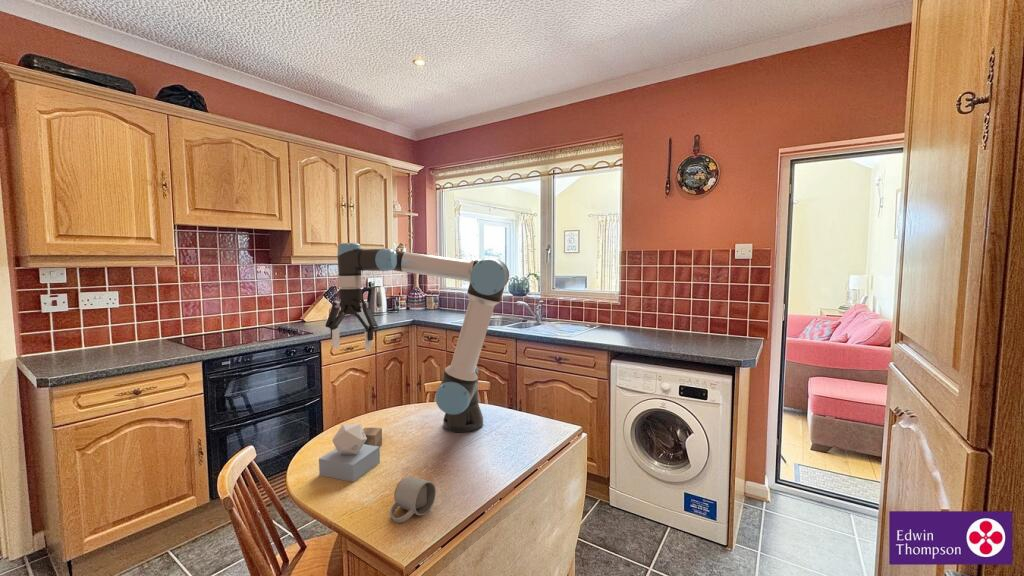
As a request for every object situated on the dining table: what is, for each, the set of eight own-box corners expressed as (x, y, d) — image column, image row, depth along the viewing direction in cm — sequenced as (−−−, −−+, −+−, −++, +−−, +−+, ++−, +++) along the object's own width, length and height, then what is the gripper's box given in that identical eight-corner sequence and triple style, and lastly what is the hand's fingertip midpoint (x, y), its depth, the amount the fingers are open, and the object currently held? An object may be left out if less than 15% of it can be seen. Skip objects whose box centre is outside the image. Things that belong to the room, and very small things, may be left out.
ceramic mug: (413, 496, 109) (412, 468, 108) (437, 505, 105) (436, 476, 104) (382, 518, 100) (380, 488, 99) (406, 529, 96) (405, 498, 95)
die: (345, 464, 117) (367, 433, 120) (321, 447, 118) (342, 416, 121) (356, 461, 125) (376, 431, 128) (333, 445, 127) (353, 416, 129)
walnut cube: (382, 445, 140) (381, 427, 139) (375, 453, 134) (374, 435, 133) (364, 444, 140) (364, 427, 140) (357, 452, 134) (356, 434, 134)
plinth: (379, 462, 127) (379, 446, 127) (353, 482, 116) (353, 464, 116) (347, 456, 131) (347, 441, 131) (319, 475, 120) (318, 458, 120)
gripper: (387, 287, 142) (389, 348, 144) (329, 286, 150) (331, 344, 151) (373, 289, 135) (375, 353, 137) (313, 288, 143) (315, 348, 144)
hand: (352, 348), depth 144 cm, fingers open, 13 cm apart
